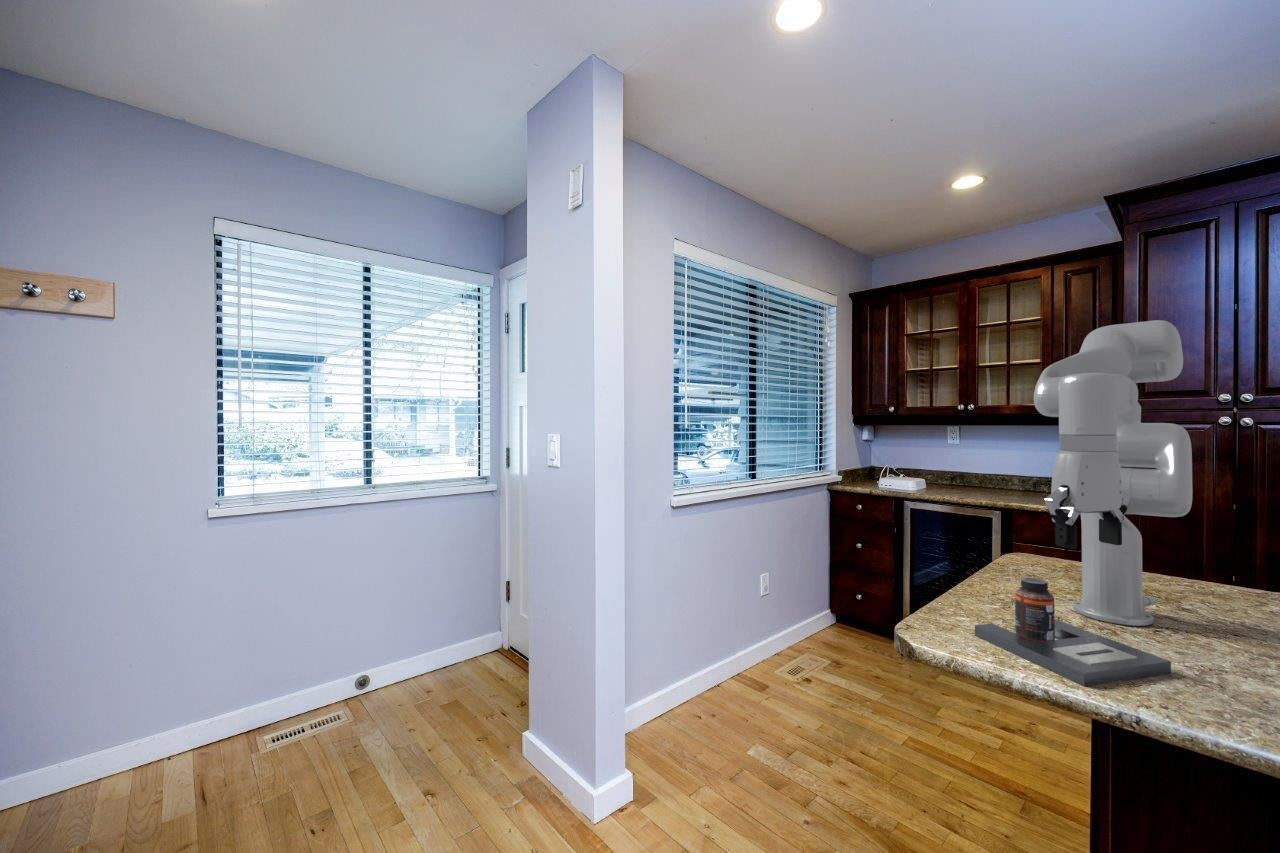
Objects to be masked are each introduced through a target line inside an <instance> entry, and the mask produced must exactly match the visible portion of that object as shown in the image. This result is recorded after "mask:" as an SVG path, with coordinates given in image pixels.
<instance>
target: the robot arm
mask: <svg viewBox="0 0 1280 853" xmlns="http://www.w3.org/2000/svg"><path fill="white" fill-rule="evenodd" d="M1183 368H1184V354H1183V346H1182V339H1181V336H1180V334H1179V330H1178V329H1177V328H1176V326H1175V325H1174V324H1172V323H1171V322H1169V321H1166V320H1162V319H1155V320H1147V321H1137V322H1128V323H1118V324H1110V325H1104V326H1101V327H1099V328H1098V327H1097V328H1096V329H1094V330H1092V331H1091V332H1089V333H1088V334H1087V335H1086V337H1084V340H1083V342H1082V344H1081V347H1080V349H1079V352H1077V353H1075V354H1073V355H1071V356H1068V357H1065V358H1064V359H1061V360H1058V361H1056V362H1053V363H1052V364H1050V365H1049V366H1047V367H1046V368H1044V370H1042V372H1041V374H1040V376H1039V378H1038V379H1037V382H1036V384H1035V386H1034V387H1035V388H1034V392H1033V404H1034V407H1035V409H1036V410H1037V412H1038V413H1040V414H1041V415H1042V416H1045V417H1049V418H1050V417H1051V418H1058V445H1059V446H1058V448H1059V449H1058V450H1059V451H1058V452H1059V453H1056V454H1055V458H1054V463H1053V467H1052V468H1053V469H1052V476H1051V489H1050V491H1051V493H1050V494H1048V495H1047V496H1046V497H1045V498H1044V503H1045V505H1046V508H1047V513H1048V515H1049V516H1050V517H1051V521H1052V522H1053V523H1054V531H1055V532H1054V543H1055V545H1056V546H1057V547H1061V548H1066V549H1071V550H1077V549H1078V525H1077V524H1075V522H1076V520H1077V519H1078V517H1079V516H1080V520H1081V521H1080V522H1081V523H1080V524H1081V582H1082V583H1081V587H1082V588H1081V589H1082V590H1081V593H1082V594H1081V598H1082V599H1081V600H1076V601H1074V602H1073V604H1072V609H1073V610H1074V611H1075V612H1076V613H1079V614H1080V615H1083V616H1084V617H1088V618H1090V619H1094V620H1097V621H1102V622H1105V623H1111V624H1116V625H1117V624H1118V625H1124V626H1134V627H1135V626H1136V627H1142V626H1146V627H1147V626H1151V625H1152V624H1154V616H1153V615H1152V614H1151V613H1149V612H1148V611H1145V610H1146V609H1145V608H1146V607H1149V606H1155V605H1156V604H1157V603H1158V600H1157V598H1156V597H1154V596H1152V595H1144V594H1143V593H1144V592H1143V538H1142V534H1141V532H1140V531H1139V529H1138V528H1137V527H1136V526H1135V525H1134V523H1132V521H1131V520H1129V519H1128V518H1127V517H1126V516H1125V515H1140V516H1150V517H1151V516H1153V517H1161V518H1162V517H1164V518H1179V517H1180V518H1181V517H1184V516H1186V515H1187V514H1188V513H1189V512H1190V511H1191V508H1192V505H1193V455H1192V454H1193V453H1192V452H1193V451H1192V442H1191V438H1190V437H1191V436H1190V435H1189V433H1188V431H1187V430H1186V428H1184V427H1183V426H1182V425H1179V424H1176V423H1169V422H1168V423H1167V422H1141V421H1142V406H1141V404H1140V403H1139V400H1138V399H1139V389H1138V385H1137V383H1138V384H1140V383H1154V382H1155V383H1157V382H1160V383H1161V382H1168V381H1173V380H1174V379H1176V378H1177V377H1178V376H1179V375H1181V373H1182V371H1183ZM1151 468H1152V469H1151ZM1066 513H1068V514H1066Z"/></svg>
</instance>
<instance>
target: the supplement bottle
mask: <svg viewBox="0 0 1280 853" xmlns="http://www.w3.org/2000/svg"><path fill="white" fill-rule="evenodd" d="M1048 584H1049V583H1048V582H1047V580H1043V579H1040V578H1035V577H1023V578H1022V577H1021V578H1020V588H1017V589H1016V590H1015V593H1014V603H1015V604H1014V615H1015V618H1014V620H1015V621H1014V622H1015V623H1014V624H1015V628H1014V629H1015V631H1014V632H1016V634H1018V635H1020V636H1023V637H1025V638H1028V639H1030V640H1032V641H1035V642H1042V641H1051V640H1055V597H1054V595H1053V594H1052V593H1050V592H1049V590H1048V586H1049V585H1048Z"/></svg>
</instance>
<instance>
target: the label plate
mask: <svg viewBox="0 0 1280 853" xmlns="http://www.w3.org/2000/svg"><path fill="white" fill-rule="evenodd" d="M974 636H975V637H977V638H980V639H981V640H983V641H985V642H988V643H990V644H992V645H994V646H996V647H998V648H1001V649H1003V650H1005V651H1008V652H1009V653H1012V654H1014V655H1016V656H1018V657H1020V658H1023V659H1024V660H1027V661H1029V662H1031V663H1033V664H1035V665H1038V666H1039V667H1042V668H1044V669H1045V670H1048V671H1049V672H1053V673H1054V674H1057V675H1059V676H1061V677H1062V678H1066V679H1067V680H1069V681H1071V682H1074V683H1077V684H1078V685H1080V686H1082V687H1088V686H1096V685H1101V684H1109V683H1115V682H1116V683H1117V682H1122V681H1123V682H1124V681H1130V680H1135V679H1136V680H1137V679H1142V678H1150V677H1157V676H1164V675H1171V674H1172V661H1171V660H1168V659H1166V658H1163V657H1160V656H1157V655H1154V654H1151V653H1148V652H1147V651H1143V650H1141V649H1138V648H1136V647H1135V648H1134V647H1132V646H1130V645H1127V644H1123V643H1121V642H1119V641H1116V640H1113V639H1111V638H1107V637H1105V636H1103V635H1099V634H1096V633H1093V632H1092V631H1088V630H1085V629H1082V628H1080V627H1078V626H1075V625H1072V624H1068V623H1066V622H1064V621H1061V620H1058V619H1055V640H1051V641H1042V642H1035V641H1032V640H1030V639H1028V638H1025V637H1023V636H1020V635H1018V634H1016V631H1010V630H1008V629H1006V628H1003V627H1001V626H998V625H996V624H994V623H985V624H984V623H983V624H975V625H974Z"/></svg>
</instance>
